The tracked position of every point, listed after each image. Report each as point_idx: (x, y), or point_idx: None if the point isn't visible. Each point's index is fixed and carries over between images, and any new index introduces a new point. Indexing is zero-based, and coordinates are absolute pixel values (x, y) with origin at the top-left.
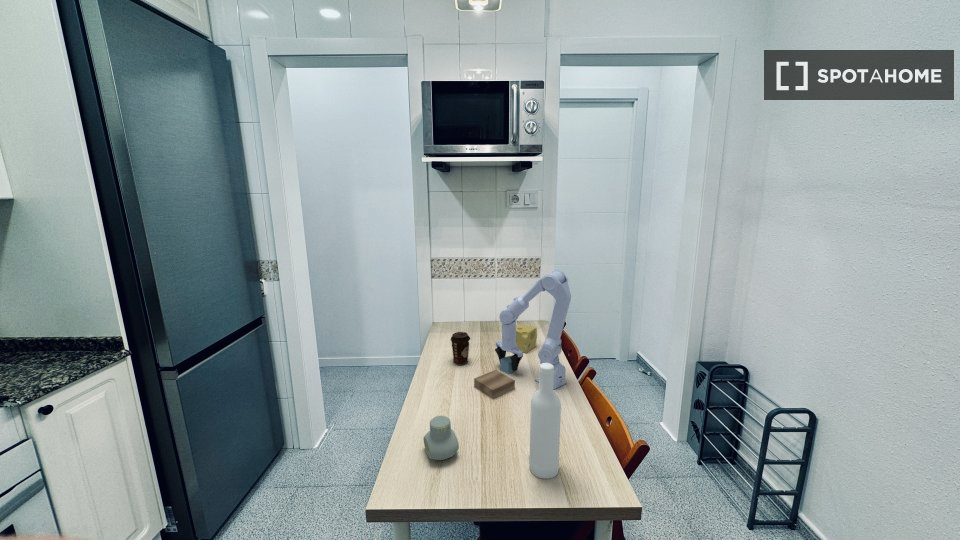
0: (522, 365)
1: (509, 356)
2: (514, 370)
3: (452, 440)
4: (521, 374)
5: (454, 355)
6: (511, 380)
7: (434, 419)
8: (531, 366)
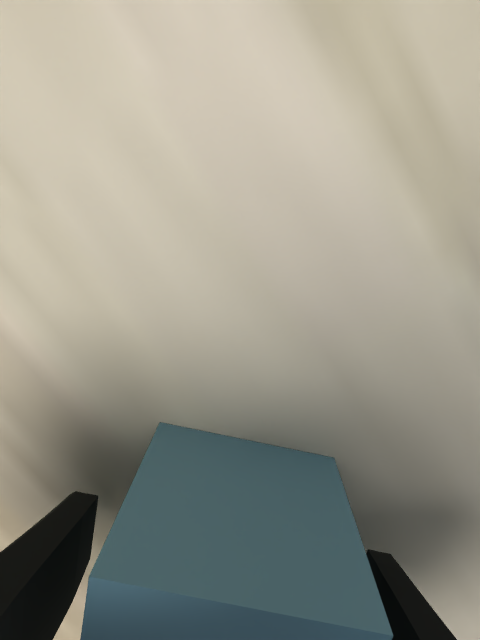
0: (313, 264)
1: (122, 593)
2: None
3: None
4: (444, 508)
5: None
6: None
7: None
8: (468, 195)
